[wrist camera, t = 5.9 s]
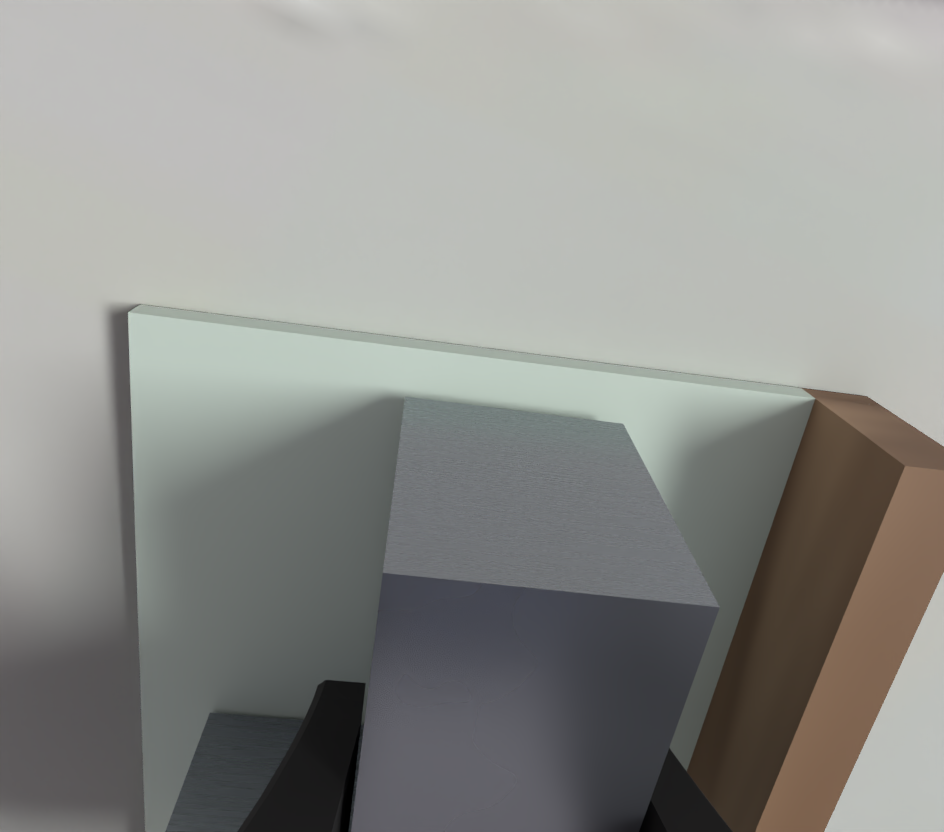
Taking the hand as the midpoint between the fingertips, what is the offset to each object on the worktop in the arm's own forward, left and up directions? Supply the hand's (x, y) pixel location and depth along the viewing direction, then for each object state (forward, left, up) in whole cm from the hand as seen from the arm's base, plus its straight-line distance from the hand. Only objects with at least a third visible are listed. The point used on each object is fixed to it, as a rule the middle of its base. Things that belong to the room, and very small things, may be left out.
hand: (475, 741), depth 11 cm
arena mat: (0, -2, -3) cm, 3 cm away
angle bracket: (-1, 0, -2) cm, 3 cm away
